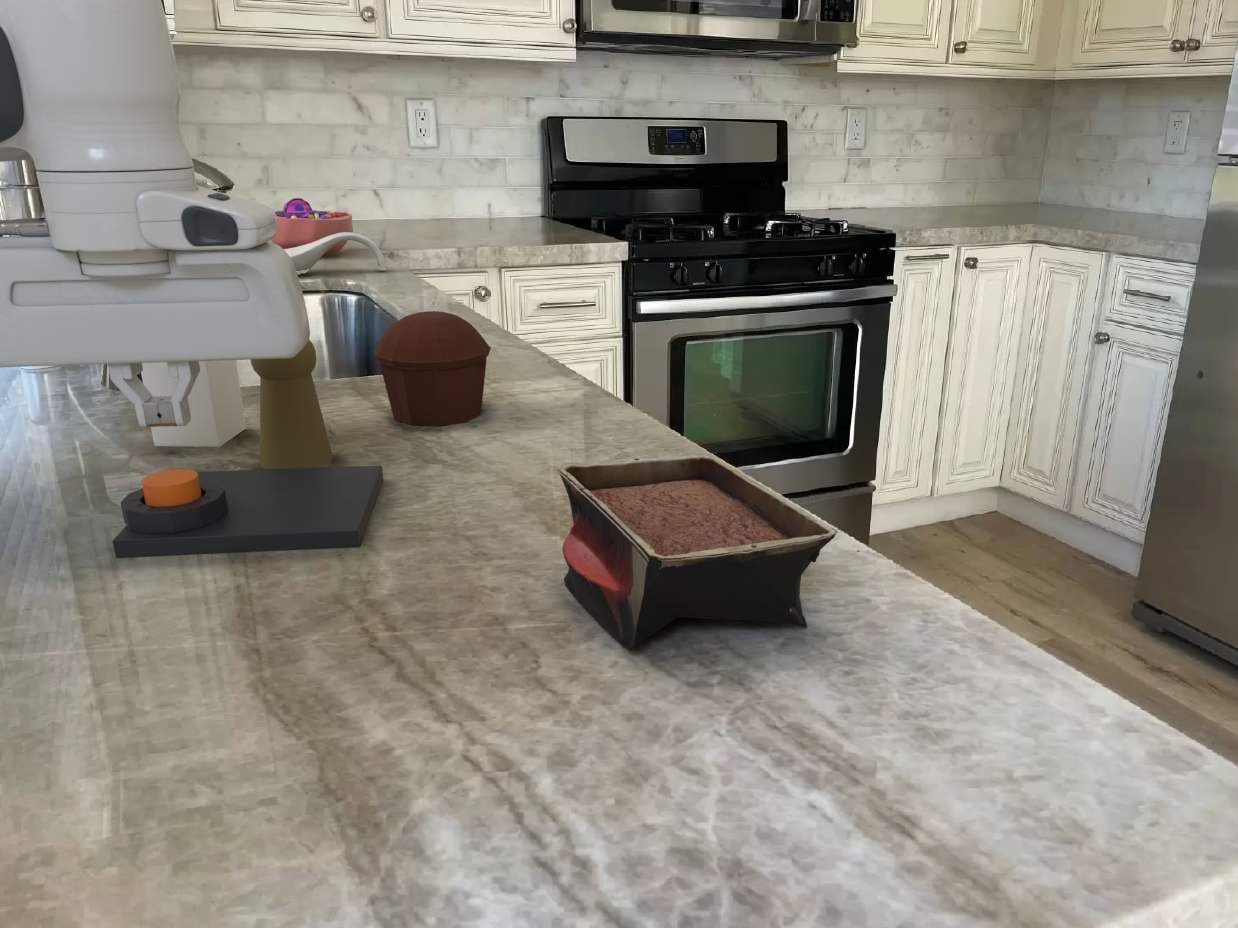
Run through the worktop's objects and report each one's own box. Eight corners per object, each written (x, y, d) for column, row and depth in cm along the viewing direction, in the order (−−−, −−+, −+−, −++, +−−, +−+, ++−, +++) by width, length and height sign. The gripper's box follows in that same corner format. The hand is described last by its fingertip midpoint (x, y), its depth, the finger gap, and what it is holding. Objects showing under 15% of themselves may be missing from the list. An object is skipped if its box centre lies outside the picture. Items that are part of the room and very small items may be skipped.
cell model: (299, 264, 200) (292, 204, 196) (250, 254, 212) (242, 197, 208) (374, 256, 211) (369, 199, 207) (324, 247, 224) (318, 194, 220)
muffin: (478, 431, 97) (472, 327, 93) (364, 429, 97) (353, 325, 94) (503, 399, 108) (498, 305, 104) (400, 397, 108) (392, 303, 105)
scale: (111, 559, 69) (103, 518, 67) (175, 488, 81) (169, 453, 80) (359, 548, 71) (355, 508, 70) (383, 481, 84) (380, 446, 83)
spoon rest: (252, 280, 180) (246, 239, 177) (252, 271, 190) (246, 232, 187) (389, 275, 188) (385, 235, 185) (382, 266, 198) (379, 228, 195)
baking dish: (739, 566, 74) (726, 431, 71) (866, 644, 57) (854, 473, 55) (547, 609, 69) (525, 467, 67) (624, 708, 53) (599, 524, 50)
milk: (154, 447, 91) (104, 192, 83) (185, 427, 97) (141, 186, 89) (221, 448, 91) (178, 192, 83) (248, 428, 97) (210, 187, 89)
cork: (247, 461, 88) (228, 335, 84) (311, 446, 92) (296, 325, 88) (280, 477, 84) (263, 346, 80) (346, 461, 88) (332, 336, 84)
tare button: (138, 510, 70) (133, 486, 69) (155, 492, 73) (151, 469, 72) (193, 508, 70) (189, 484, 70) (208, 490, 74) (204, 467, 73)
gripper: (-79, 223, 60) (-21, 445, 65) (280, 219, 63) (309, 431, 68) (-27, 214, 66) (23, 418, 71) (299, 210, 69) (325, 406, 74)
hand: (165, 424), depth 70 cm, fingers closed
